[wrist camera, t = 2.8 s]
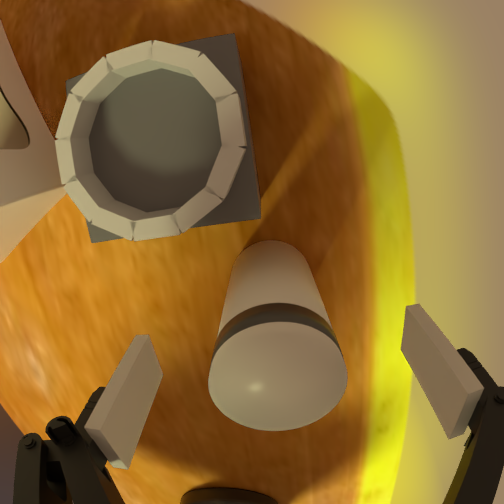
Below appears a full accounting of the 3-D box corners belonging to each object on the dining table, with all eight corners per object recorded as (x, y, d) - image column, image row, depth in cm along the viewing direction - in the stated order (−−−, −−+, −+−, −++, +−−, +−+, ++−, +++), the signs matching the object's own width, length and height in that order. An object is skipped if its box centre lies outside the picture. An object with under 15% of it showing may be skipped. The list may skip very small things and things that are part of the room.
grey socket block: (260, 199, 22) (261, 228, 15) (128, 219, 23) (75, 254, 15) (241, 61, 19) (231, 19, 12) (108, 92, 20) (46, 76, 12)
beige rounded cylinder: (312, 308, 25) (345, 422, 13) (237, 317, 25) (222, 434, 14) (307, 235, 23) (349, 320, 12) (224, 245, 23) (193, 338, 12)
